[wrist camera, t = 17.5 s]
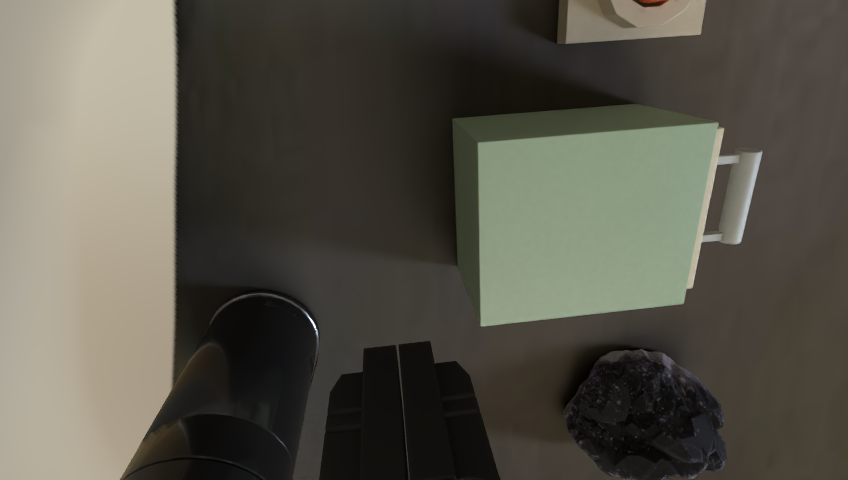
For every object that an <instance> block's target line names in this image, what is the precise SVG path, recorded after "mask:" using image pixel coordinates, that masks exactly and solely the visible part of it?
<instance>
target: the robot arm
mask: <svg viewBox="0 0 848 480" xmlns="http://www.w3.org/2000/svg"><path fill="white" fill-rule="evenodd" d="M319 338H320V336H319V328H318V325H317V322H316V320H315V318H314V317H313V315H312V314H311V312H310V311H309V310H308V309H307V308H306V307H305V306H304V305H303V304H302V303H300V302H299V301H297V300H296V299H294V298H292V297H290V296H288V295H286V294H283V293H279V292H275V291H269V290H255V291H248V292H244V293H241V294H238V295H236V296H234V297H232V298H230V299H229V300H227V301H226V302H225V303H223V304H222V305H221V306H220V307H219V309H218V310H217V311H216V313H215V314H214V316H213V318H212V320H211V322H210V324H209V327H208V329H207V331H206V332H205V334H204V336H203V337H202V339H201V341H200V342H199V344H198V346H197V347H196V349H195V351H194V353H193V354H192V356H191V358H190V359H189V361H188V363H187V365H186V366H185V368H184V370H183V371H182V373H181V375H180V377H179V378H178V380H177V382H176V384H175V385H174V387H173V389H172V390H171V392H170V394H169V396H168V397H167V399H166V401H165V403H164V404H163V406H162V408H161V409H160V411H159V413H158V415H157V416H156V418H155V420H154V421H153V423H152V425H151V427H150V428H149V430H148V432H147V433H146V435H145V437H144V439H143V441H142V442H141V444H140V446H139V448H138V449H137V451H136V453H135V455H134V457H133V458H132V460H131V462H130V463H129V465H128V467H127V468H126V470H125V472H124V474H123V475H122V477H121V479H120V480H293V474H294V468H295V463H296V458H297V452H298V447H299V442H300V436H301V431H302V425H303V420H304V415H305V409H306V404H307V399H308V393H309V388H310V386H311V385H310V382H311V383H312V380H311V377H312V379H313V376H312V372H313V367H314V361H315V356H316V354H317V351H318V346H319ZM318 354H319V353H318ZM399 355H400V367H401V379H402V391H403V403H404V414H405V426H406V438H407V450H408V462H409V474H410V480H500V477H499V474H498V471H497V468H496V464H495V461H494V457H493V454H492V451H491V447H490V444H489V440H488V437H487V433H486V430H485V426H484V423H483V420H482V416H481V413H480V409H479V406H478V402H477V399H476V397H475V392H474V389H473V385H472V382H471V378H470V375H469V374H468V373H467V372H466V371H465V370H464V369H463V368H462V367H461V366H460V365H459V364H458V363H457V362H456V361H452V362H444V363H434V358H433V353H432V348H431V343H430V341H425V342H417V343H408V344H399ZM317 359H318V357H317ZM316 364H317V361H316ZM315 367H316V365H315ZM314 371H315V368H314ZM313 375H314V372H313ZM319 480H408V468H407V455H406V443H405V430H404V419H403V408H402V398H401V388H400V379H399V369H398V360H397V350H396V345H391V346H383V347H374V348H365V349H364V355H363V372H360V373H351V374H343V375H341V377H340V378H339V380H338V381H337V383H336V384H335V386H334V387H333V389H332V390H331V392H330V397H329V405H328V416H327V421H326V433H325V437H324V445H323V453H322V462H321V470H320V478H319Z"/></svg>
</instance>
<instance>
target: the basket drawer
mask: <svg viewBox="0 0 848 480" xmlns="http://www.w3.org/2000/svg"><path fill="white" fill-rule="evenodd" d="M723 132H724V128H722V127H718V128H717V134H716V139H715V144H714V149H713V154H712V159H711V165H710V170H709V175H708V180H707V185H706V190H705V196H704V201H703V206H702V211H701V216H700V221H699V227H698V232H697V237H696V242H695V247H694V252H693V257H692V263H691V268H690V273H689V278H688V283H687V288H686V289H689V288H692V287H693V282H694V277H695V272H696V267H697V262H698V257H699V252H700V247H701V242H708V241H720V242H722V243H726V244H739V243H740V242H741V240H742V235H743V231H744V227H745V223H746V219H747V214H748V210H749V206H750V202H751V198H752V193H753V189H754V185H755V181H756V177H757V172H758V168H759V164H760V160H761V156H762V150H760V149H756V148H737V149H735V153H728V154H719V152H720V147H721V142H722V137H723ZM730 163H732V167H731V172H730V177H729V181H728V186H727V191H726V195H725V200H724V205H723V209H722V214H721V219H720V223H719V228H718V231H709V232H704V227H705V222H706V217H707V212H708V207H709V202H710V197H711V192H712V187H713V182H714V177H715V172H716V167H717V165H719V164H730Z"/></svg>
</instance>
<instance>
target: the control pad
mask: <svg viewBox="0 0 848 480" xmlns="http://www.w3.org/2000/svg"><path fill="white" fill-rule="evenodd" d="M705 4H706V0H664V1H658V2H651V3H646V2H642V1H639V0H559V14H558V34H557V44H571V43H586V42H600V41H614V40H629V39H643V38H657V37H672V36H686V35H700V34H701V28H702V22H703V16H704V10H705Z"/></svg>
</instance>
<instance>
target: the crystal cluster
mask: <svg viewBox="0 0 848 480" xmlns="http://www.w3.org/2000/svg"><path fill="white" fill-rule="evenodd" d="M563 415H564V417H565V419H566V420H567V427H568V431H569V434H570V435H571V436H572V437H573V438H574V440H575V441H576V443H577V444H578V446H579V447H580V448H581V449H583V450H584V451H585V452H586V453H588V455H589V457H590V458H591V459H593V461H594V462H595V463H596V464H597V466H598V467H599V468H600V470H601V471H602V472H604V473H606V474H608V475H610V476H618V477H620V478H622V479H626V480H628V479H632V478H633V479H637V480H665V479H668V478H669V477H671V476H681V477H684V478H689V479H693V478H695V477H696V476H697V474H698V473H701V472H702V471H704V470H710V471H720V470H721V469H722V468H723V466H724V465H725V463H726V459H727V457H726V450H725V442H724V440H723V439H722V437H721V436H720V435H718V432H717V429H720V428H722V427H723V425H724V421H723V414H722V410H721V405H720V404H719V403H718V401H717V400H716V398H715V397H714V396H713V395H712V394H711V393H710V392H709V391H708V390H707V389H706V387H705V386H704V385H703V384H702V383H701V381H700V380H699V379H698V378H697V377H696V376H695V375H693V374H691V373H690V372H689V371H687V370H686V369H684V368H682V367H681V366H679V365H678V364H676V363H675V362H674V361H673V360H672V359H671V358H669V357H667V356H666V355H665V354H664V353H662V352H658V351H654V352H648V351H644V350H643V349H640V350H633V351H629V350H624V351H611V352H610V353H608V354H606V355H605V356H602V357H601V358H600V359H599V360H598V361H597V362H596V363H595V365H594V367H593V369H592V370H591V371H590V375H589V377H588V378H587V379H586V380H585V381H584V382H583V383H582V384H581V385H580V386H579V388H578V391H577V393H576V395H575V396H574V397H573V398H572V400H571V401H570V402H569V403H568V404H567V406H566V408H565V410H564V413H563Z"/></svg>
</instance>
